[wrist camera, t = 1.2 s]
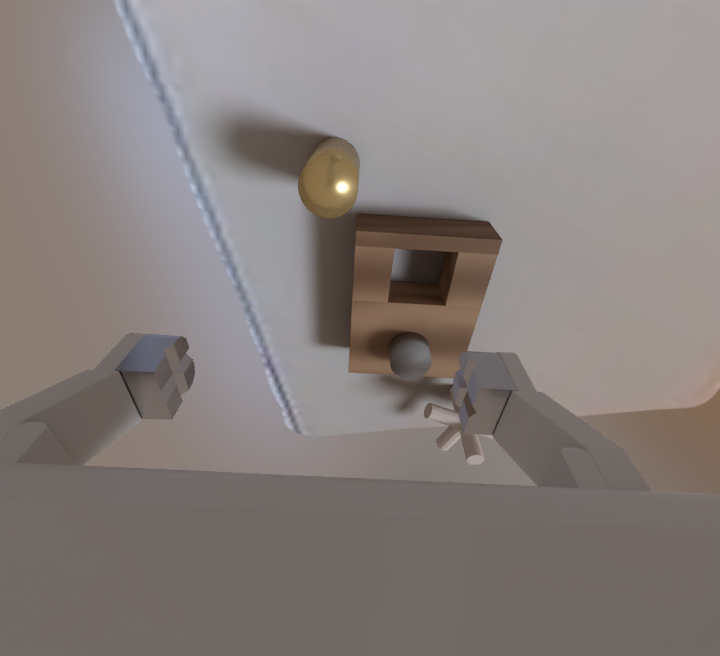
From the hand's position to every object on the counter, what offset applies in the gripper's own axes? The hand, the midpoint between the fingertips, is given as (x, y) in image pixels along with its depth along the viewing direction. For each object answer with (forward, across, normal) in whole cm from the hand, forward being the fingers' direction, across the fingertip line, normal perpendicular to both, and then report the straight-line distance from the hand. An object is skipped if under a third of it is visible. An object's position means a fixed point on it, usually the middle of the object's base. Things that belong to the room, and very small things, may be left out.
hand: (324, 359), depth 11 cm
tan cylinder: (+24, +1, -1) cm, 24 cm away
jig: (+24, -6, +11) cm, 27 cm away
